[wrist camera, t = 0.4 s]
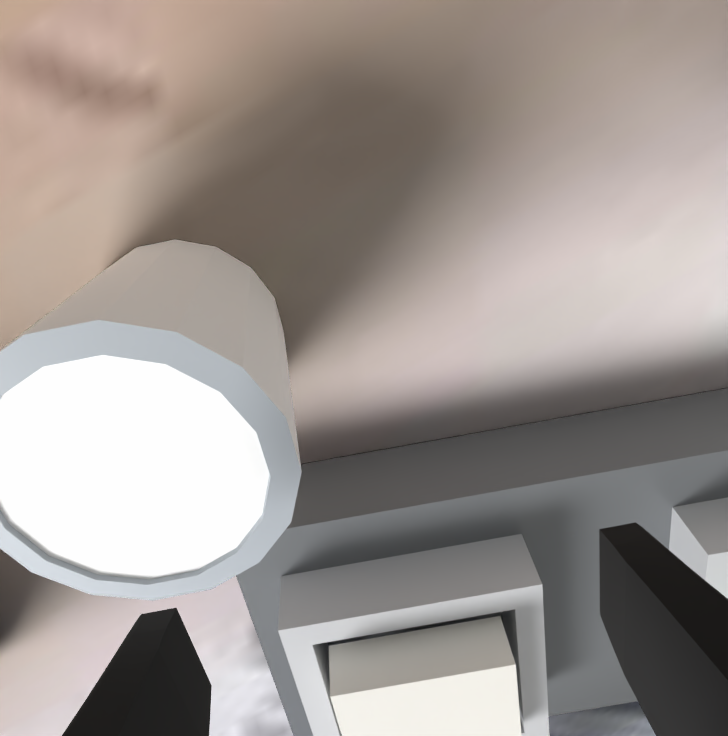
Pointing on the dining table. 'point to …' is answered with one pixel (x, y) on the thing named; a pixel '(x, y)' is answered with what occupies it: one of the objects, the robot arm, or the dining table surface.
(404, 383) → the dining table surface
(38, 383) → the white cylinder
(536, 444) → the key panel
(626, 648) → the robot arm
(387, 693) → the pale key
